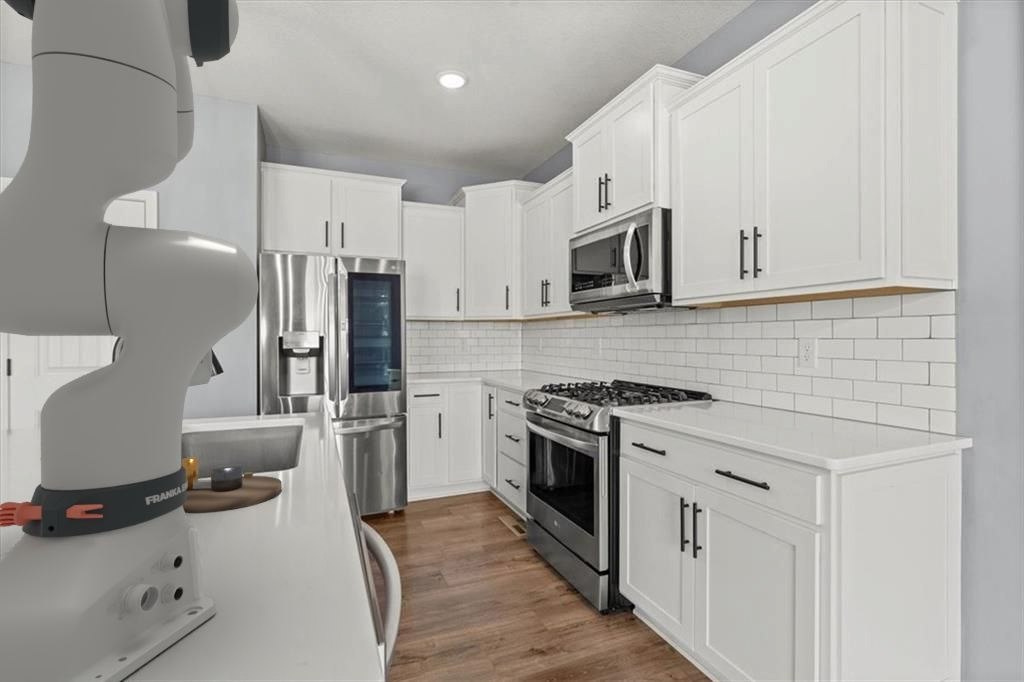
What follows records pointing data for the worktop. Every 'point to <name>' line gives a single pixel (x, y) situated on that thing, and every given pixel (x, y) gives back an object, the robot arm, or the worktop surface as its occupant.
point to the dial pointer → (213, 476)
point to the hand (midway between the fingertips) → (169, 415)
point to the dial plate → (233, 495)
